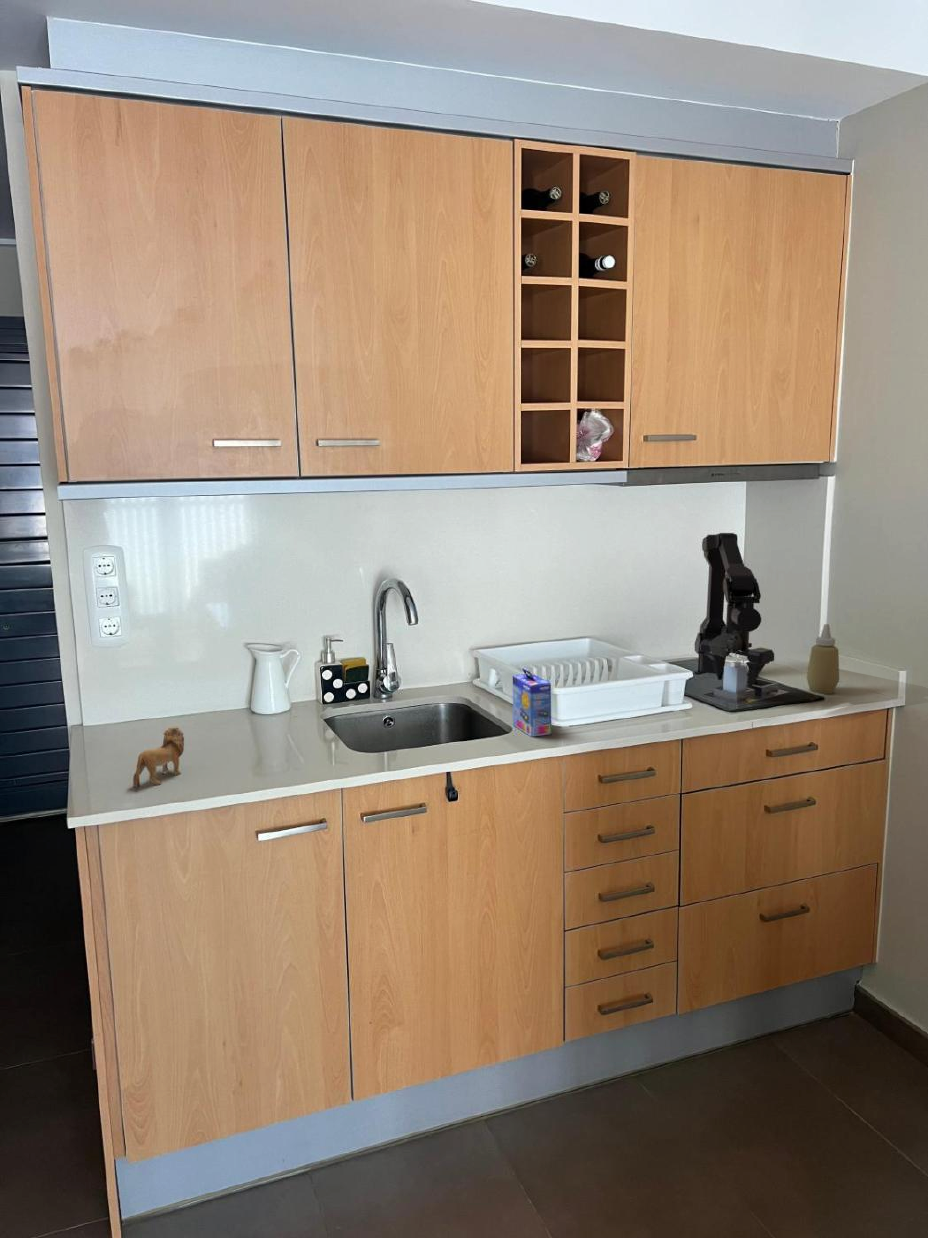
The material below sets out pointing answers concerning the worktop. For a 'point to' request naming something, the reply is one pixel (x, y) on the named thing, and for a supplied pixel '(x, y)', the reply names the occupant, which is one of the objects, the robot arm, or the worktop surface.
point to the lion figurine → (161, 756)
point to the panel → (748, 692)
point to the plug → (735, 677)
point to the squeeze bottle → (823, 664)
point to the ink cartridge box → (532, 704)
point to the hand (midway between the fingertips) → (734, 683)
